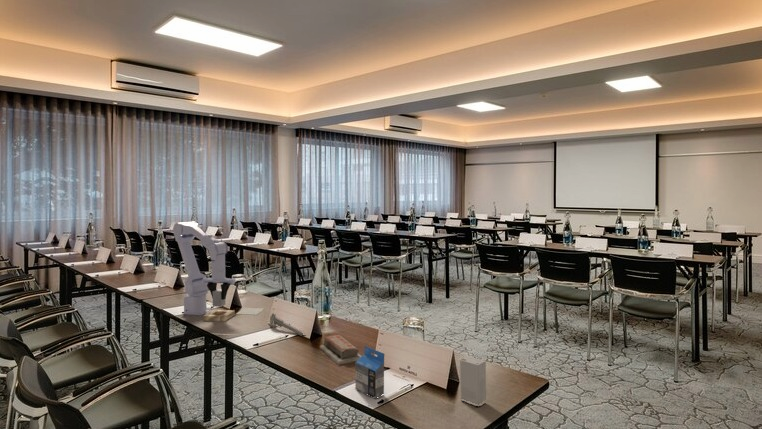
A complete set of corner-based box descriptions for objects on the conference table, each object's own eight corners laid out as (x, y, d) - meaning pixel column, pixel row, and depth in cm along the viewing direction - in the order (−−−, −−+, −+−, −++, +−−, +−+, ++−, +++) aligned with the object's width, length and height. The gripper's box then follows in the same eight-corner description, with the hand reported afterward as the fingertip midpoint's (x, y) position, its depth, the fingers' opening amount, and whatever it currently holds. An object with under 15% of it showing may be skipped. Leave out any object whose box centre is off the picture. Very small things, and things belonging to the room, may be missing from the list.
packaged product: (318, 336, 164) (343, 332, 169) (318, 349, 164) (343, 344, 169) (337, 352, 148) (364, 347, 153) (337, 366, 149) (364, 360, 153)
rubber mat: (235, 315, 205) (235, 313, 205) (244, 309, 215) (244, 307, 215) (256, 315, 204) (256, 314, 204) (264, 309, 214) (264, 308, 214)
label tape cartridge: (354, 389, 131) (354, 348, 130) (364, 385, 134) (364, 345, 133) (375, 399, 125) (375, 357, 124) (384, 395, 128) (385, 353, 127)
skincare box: (486, 403, 123) (487, 360, 122) (478, 409, 120) (479, 365, 119) (467, 395, 127) (468, 354, 126) (459, 401, 124) (459, 359, 123)
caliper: (269, 327, 188) (269, 313, 188) (271, 326, 189) (271, 312, 189) (304, 337, 177) (304, 321, 176) (306, 336, 178) (306, 321, 177)
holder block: (203, 321, 195) (203, 315, 195) (214, 314, 205) (214, 309, 205) (225, 322, 194) (224, 316, 194) (235, 315, 204) (234, 310, 204)
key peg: (212, 306, 198) (212, 291, 197) (217, 304, 202) (216, 289, 201) (221, 306, 197) (221, 291, 197) (225, 304, 201) (225, 289, 201)
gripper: (198, 270, 195) (199, 300, 196) (229, 271, 194) (230, 301, 195) (206, 267, 202) (207, 296, 203) (236, 268, 201) (237, 297, 201)
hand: (219, 298), depth 199 cm, fingers closed on key peg, 4 cm apart
